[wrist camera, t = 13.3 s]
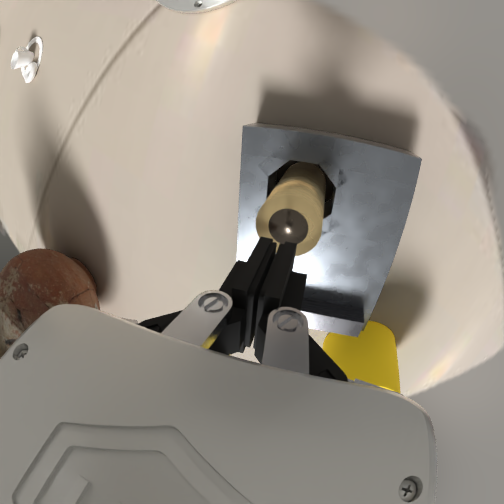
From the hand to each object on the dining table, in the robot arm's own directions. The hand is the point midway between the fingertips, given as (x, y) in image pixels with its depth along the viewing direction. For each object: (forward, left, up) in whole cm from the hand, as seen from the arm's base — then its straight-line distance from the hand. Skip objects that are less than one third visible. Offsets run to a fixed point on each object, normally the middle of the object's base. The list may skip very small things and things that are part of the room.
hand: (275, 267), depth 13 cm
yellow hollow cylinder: (+20, +11, -15) cm, 27 cm away
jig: (+4, +2, -14) cm, 15 cm away
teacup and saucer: (-18, -46, -15) cm, 51 cm away
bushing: (0, 0, -14) cm, 14 cm away
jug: (+22, -37, -15) cm, 45 cm away
